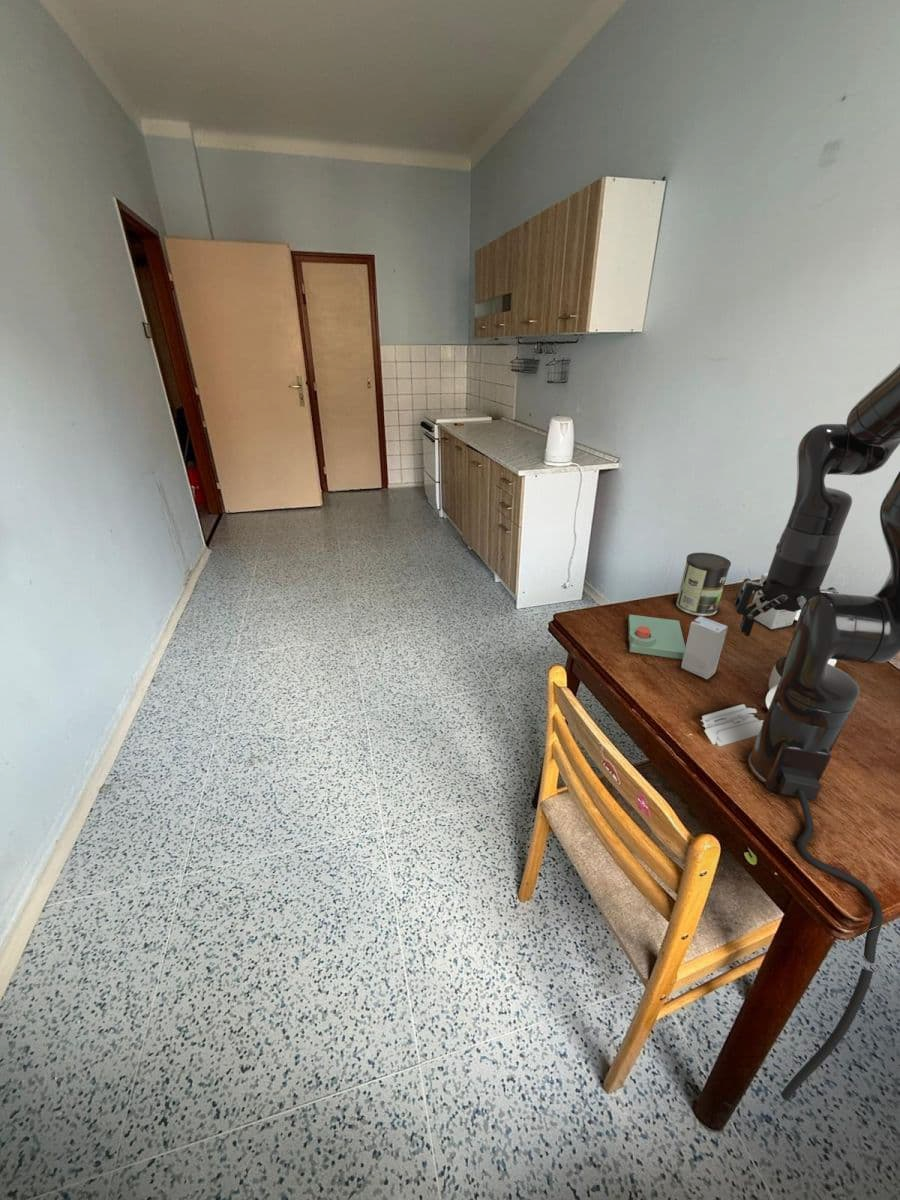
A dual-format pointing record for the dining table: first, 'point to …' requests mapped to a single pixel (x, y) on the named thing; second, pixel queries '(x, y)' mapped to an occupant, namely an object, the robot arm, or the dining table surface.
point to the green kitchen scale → (656, 637)
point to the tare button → (643, 632)
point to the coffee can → (702, 583)
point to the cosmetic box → (703, 647)
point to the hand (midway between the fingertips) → (772, 637)
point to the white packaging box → (774, 613)
